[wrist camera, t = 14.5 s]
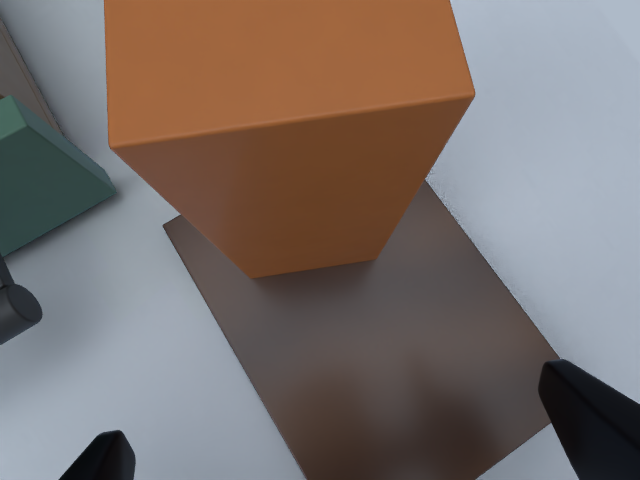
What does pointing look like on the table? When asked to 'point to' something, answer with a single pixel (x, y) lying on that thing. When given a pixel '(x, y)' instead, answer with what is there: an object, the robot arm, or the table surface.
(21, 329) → the drawer
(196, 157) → the orange rectangular prism
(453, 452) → the board
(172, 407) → the table surface
